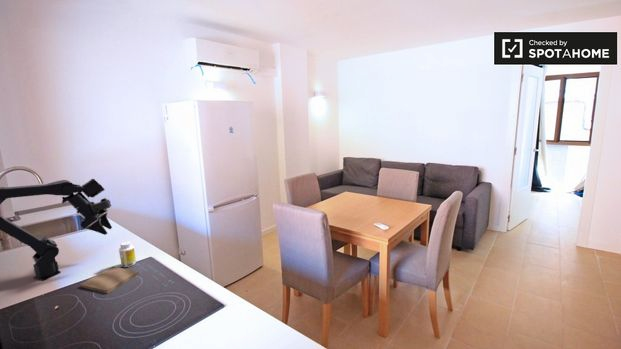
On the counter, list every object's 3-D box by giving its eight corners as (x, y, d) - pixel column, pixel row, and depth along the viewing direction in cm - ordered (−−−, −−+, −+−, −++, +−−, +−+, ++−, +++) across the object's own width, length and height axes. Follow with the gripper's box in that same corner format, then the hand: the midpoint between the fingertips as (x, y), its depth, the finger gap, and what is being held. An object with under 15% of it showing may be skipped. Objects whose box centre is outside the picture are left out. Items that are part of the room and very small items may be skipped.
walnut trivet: (107, 293, 113) (107, 290, 112) (80, 287, 117) (80, 284, 117) (138, 274, 126) (138, 271, 125) (113, 268, 130) (113, 266, 130)
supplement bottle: (138, 260, 137) (135, 239, 134) (132, 267, 131) (129, 245, 129) (125, 261, 136) (122, 240, 134) (119, 268, 131) (115, 246, 129)
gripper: (93, 196, 124) (121, 224, 129) (104, 190, 141) (128, 215, 146) (67, 214, 121) (97, 242, 126) (82, 205, 138) (107, 230, 143)
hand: (108, 231), depth 135 cm, fingers open, 9 cm apart
